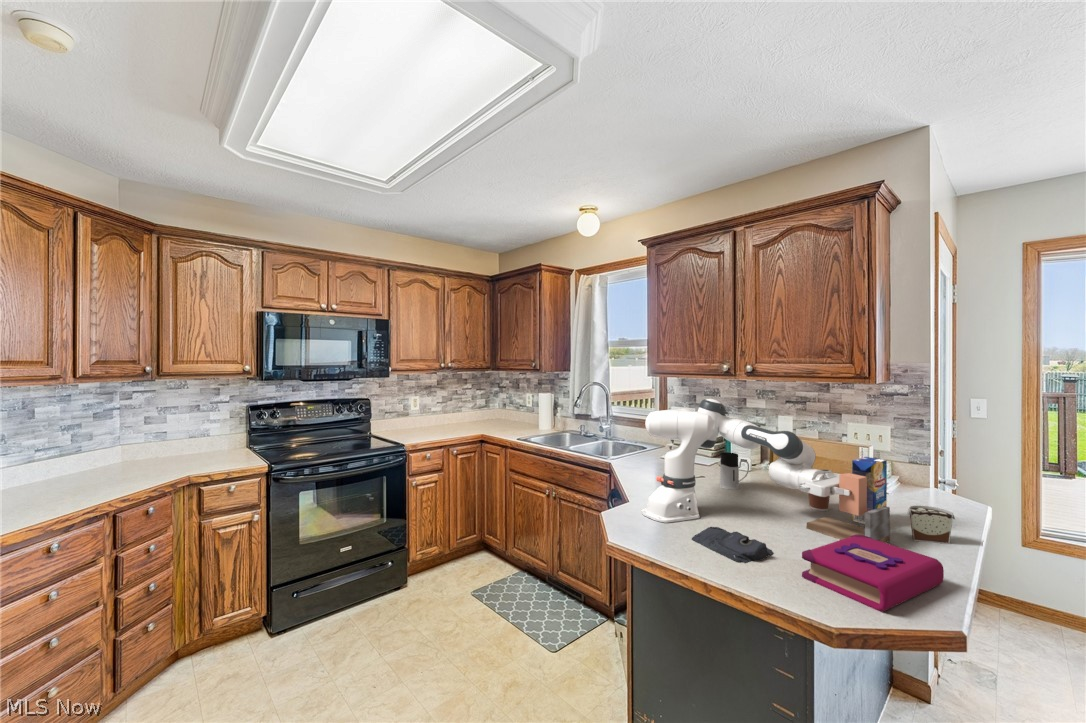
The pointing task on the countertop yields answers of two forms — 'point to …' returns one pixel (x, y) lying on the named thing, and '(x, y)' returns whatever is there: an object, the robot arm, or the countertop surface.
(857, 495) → the salmon pink brick
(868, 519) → the walnut shelf
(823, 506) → the coffee cup
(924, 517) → the food container
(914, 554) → the book
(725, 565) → the countertop surface
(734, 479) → the glass holder
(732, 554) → the folded black shirt
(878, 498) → the beverage box
